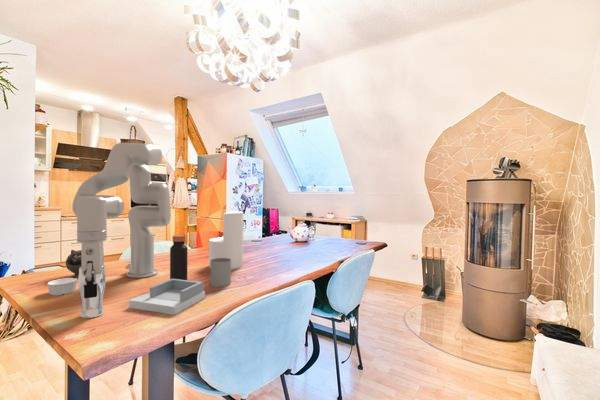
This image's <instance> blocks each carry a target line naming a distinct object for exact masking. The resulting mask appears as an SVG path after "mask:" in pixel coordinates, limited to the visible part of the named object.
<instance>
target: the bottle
mask: <svg viewBox="0 0 600 400" xmlns="http://www.w3.org/2000/svg"><path fill="white" fill-rule="evenodd" d="M185 242H186V235H184V234H175V235H172V243H173V244H172V245H171V246H170V248H169V280H170V279H180V280H188V246H187V245H186V244H185Z"/></svg>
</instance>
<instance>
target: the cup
mask: <svg viewBox="0 0 600 400" xmlns="http://www.w3.org/2000/svg"><path fill="white" fill-rule="evenodd" d="M209 269H210V270H209V271H210V275H209V276H210V282H209V283H210V286H211V287H214V286H215V288H219V287H227V286H229V285H231V284H232V283H231V281H232V280H231V279H232V269H231V259H229V258H216V259H212V260H211V261H210V267H209Z"/></svg>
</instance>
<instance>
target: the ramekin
mask: <svg viewBox="0 0 600 400" xmlns="http://www.w3.org/2000/svg"><path fill="white" fill-rule="evenodd" d="M77 281H78V278H73V277H65V278H58V279H54V280H50V281H48V282H47V283H46V284H47V286H48V294H49V295H50V296H63V295H62V294H64V295H69V294H71V292H72V293H75V291H76V290H77ZM68 293H69V294H68Z"/></svg>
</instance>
